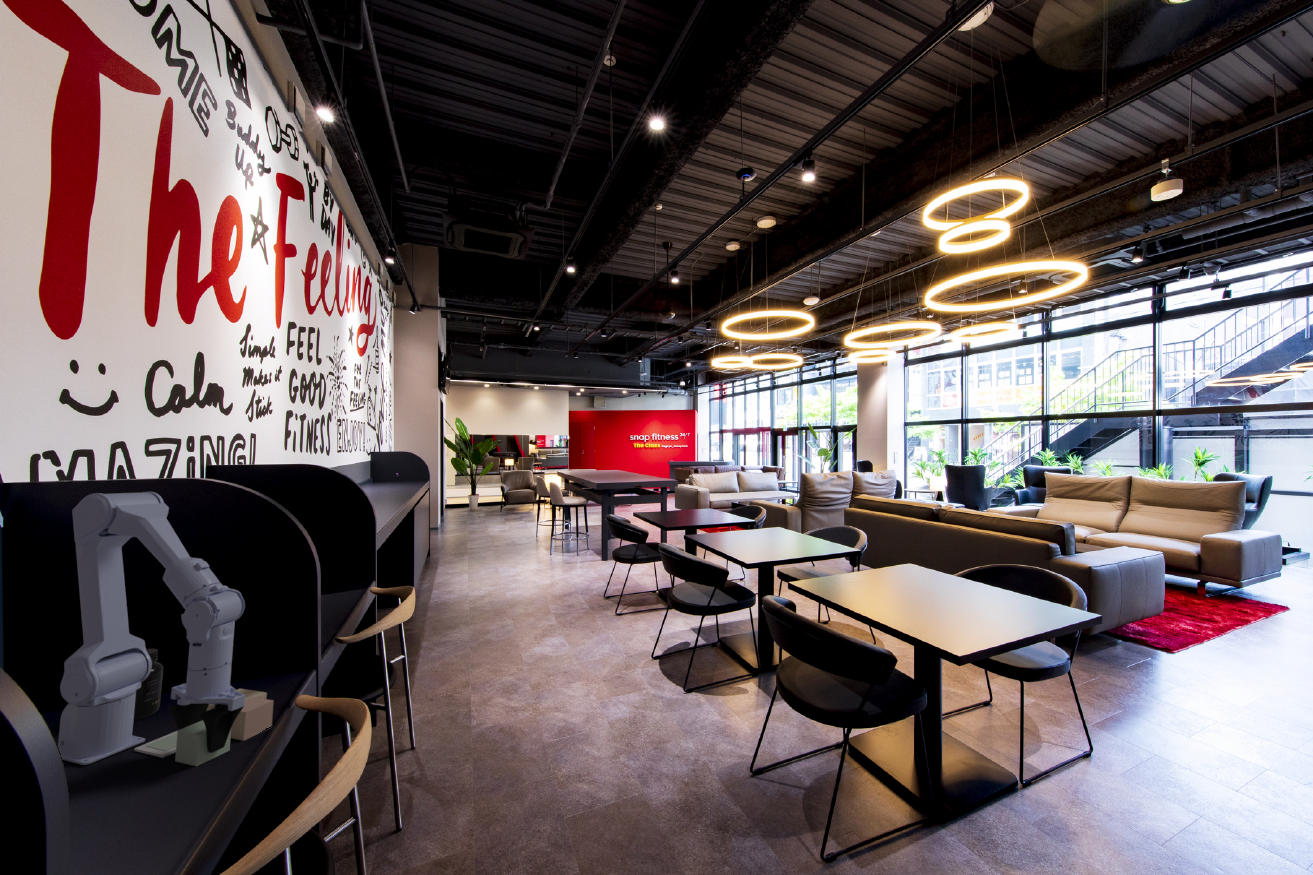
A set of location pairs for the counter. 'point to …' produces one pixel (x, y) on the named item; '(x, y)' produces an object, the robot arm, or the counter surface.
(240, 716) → the terracotta block
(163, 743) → the card
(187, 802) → the counter surface
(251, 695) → the maple block
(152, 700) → the supplement bottle
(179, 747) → the sage block
